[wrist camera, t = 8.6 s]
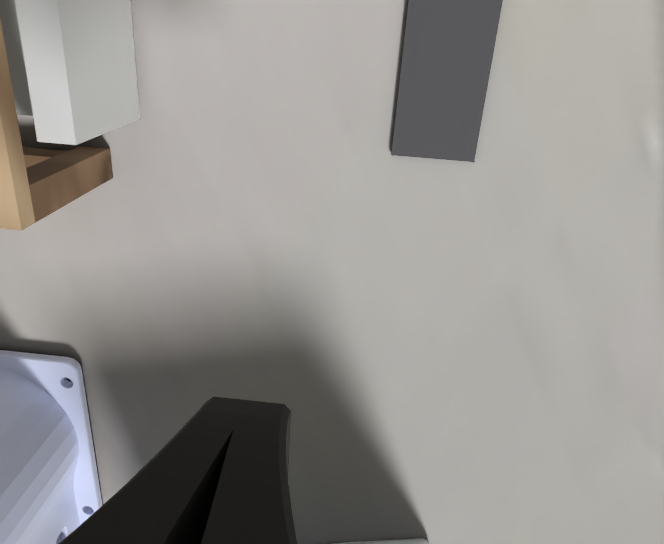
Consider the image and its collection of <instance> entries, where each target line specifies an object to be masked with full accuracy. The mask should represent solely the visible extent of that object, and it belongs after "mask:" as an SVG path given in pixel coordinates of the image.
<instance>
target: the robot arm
mask: <svg viewBox="0 0 664 544" xmlns="http://www.w3.org/2000/svg"><path fill="white" fill-rule="evenodd" d="M66 378H69V379H70V380H71V381H72V382H73V383H72V382H69V381H68V380H67V379H66ZM290 415H291V411H290V410H289V409H288V408H287V406H286V405H285V404H276V403H266V402H257V401H247V400H238V399H229V398H219V397H213V398H211V399H210V400H209V401H207V402H206V403H205V404H204V405H203V407H202V408H201V409H200V410H199V411H198V412H197V413H196V414H195V415H194V416H193V417H192V418H191V419H190V421H189V422H188V423H187V424H186V425H185V426H184V427H183V428H182V429H181V430H180V431H179V432H178V433H177V434H176V435H175V436H174V437H173V438H172V439H171V440H170V441H169V442H168V444H167V445H166V446H165V447H164V448H163V449H162V450H161V451H160V452H159V453H158V454H157V455H156V456H155V457H154V458H153V459H152V460H150V461H149V462H148V463H147V464H146V465H145V466H144V467H143V468H142V469H141V470H140V471H139V472H138V473H137V474H136V475H135V476H134V477H133V478H132V479H131V480H130V481H129V482H128V483H127V484H126V485H125V486H124V487H122V488H121V489H120V490H119V491H118V492H117V493H116V494H115V495H114V496H113V497H112V498H110V499H109V500H108V501H107V502H106V503H105V504H104V505H102V499H101V493H100V486H99V480H98V473H97V467H96V460H95V454H94V447H93V440H92V434H91V427H90V421H89V414H88V408H87V401H86V395H85V388H84V381H83V375H82V369H81V366H80V364H79V363H78V362H77V361H76V360H74V359H73V358H70V357H63V356H53V355H44V354H34V353H24V352H15V351H5V350H0V544H297V541H296V536H295V530H294V524H293V518H292V511H291V503H290V495H289V487H288V463H289V439H290Z"/></svg>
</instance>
